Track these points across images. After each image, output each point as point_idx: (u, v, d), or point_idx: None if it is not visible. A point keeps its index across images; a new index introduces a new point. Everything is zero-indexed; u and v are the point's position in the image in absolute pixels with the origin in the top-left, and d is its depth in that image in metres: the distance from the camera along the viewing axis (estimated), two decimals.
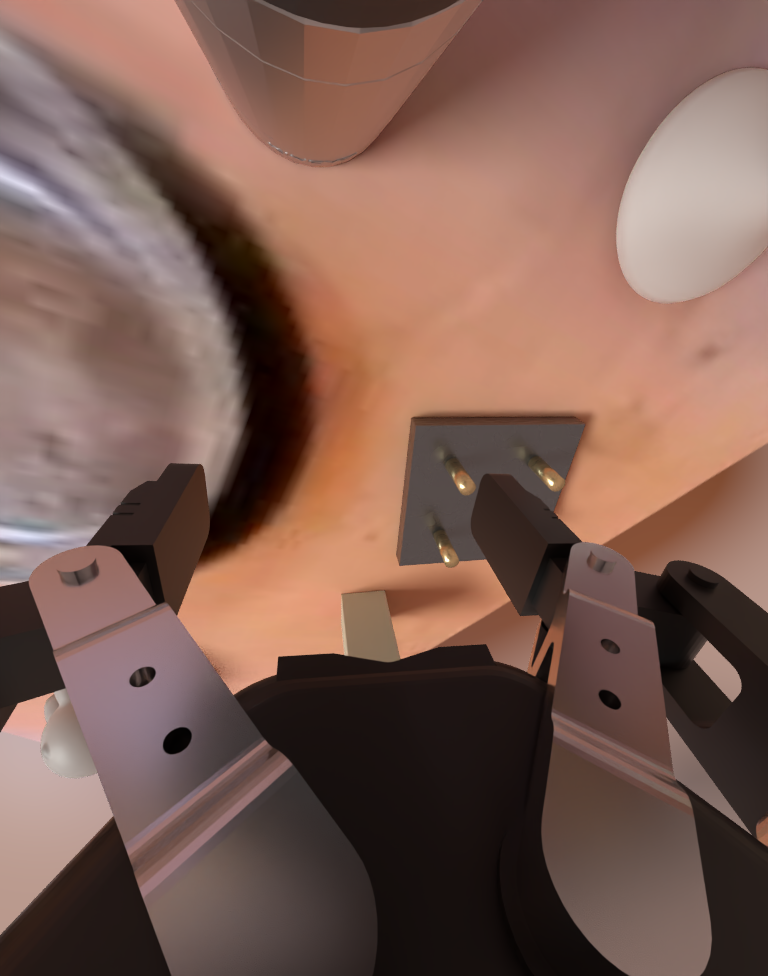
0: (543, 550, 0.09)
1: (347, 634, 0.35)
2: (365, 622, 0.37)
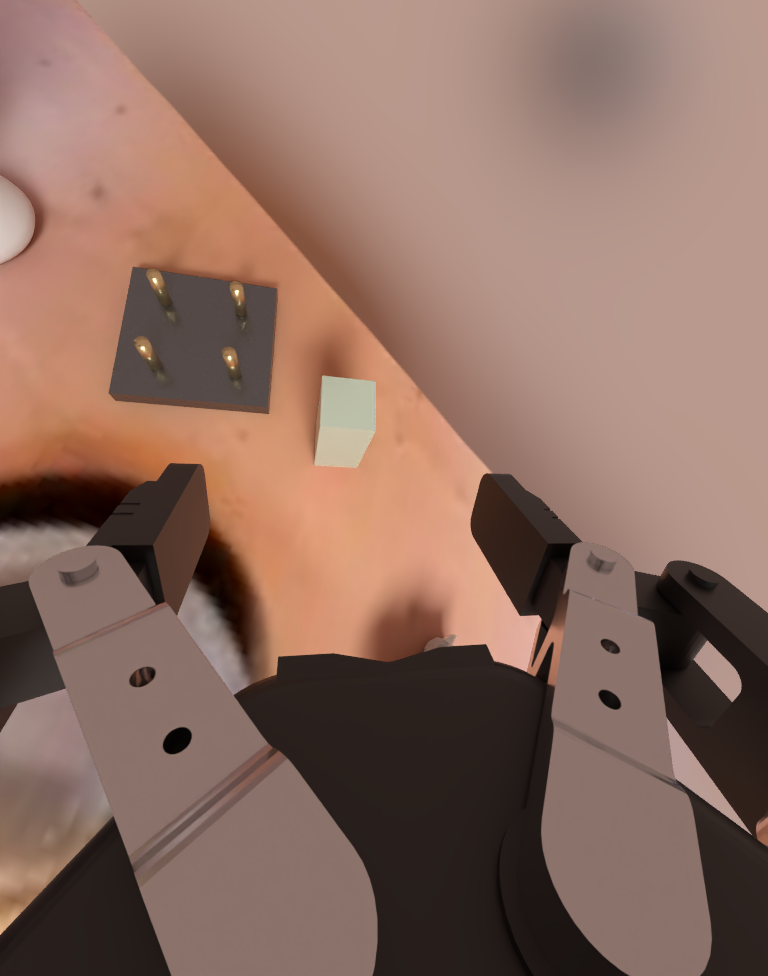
0: (543, 550, 0.09)
1: (316, 447, 0.35)
2: None
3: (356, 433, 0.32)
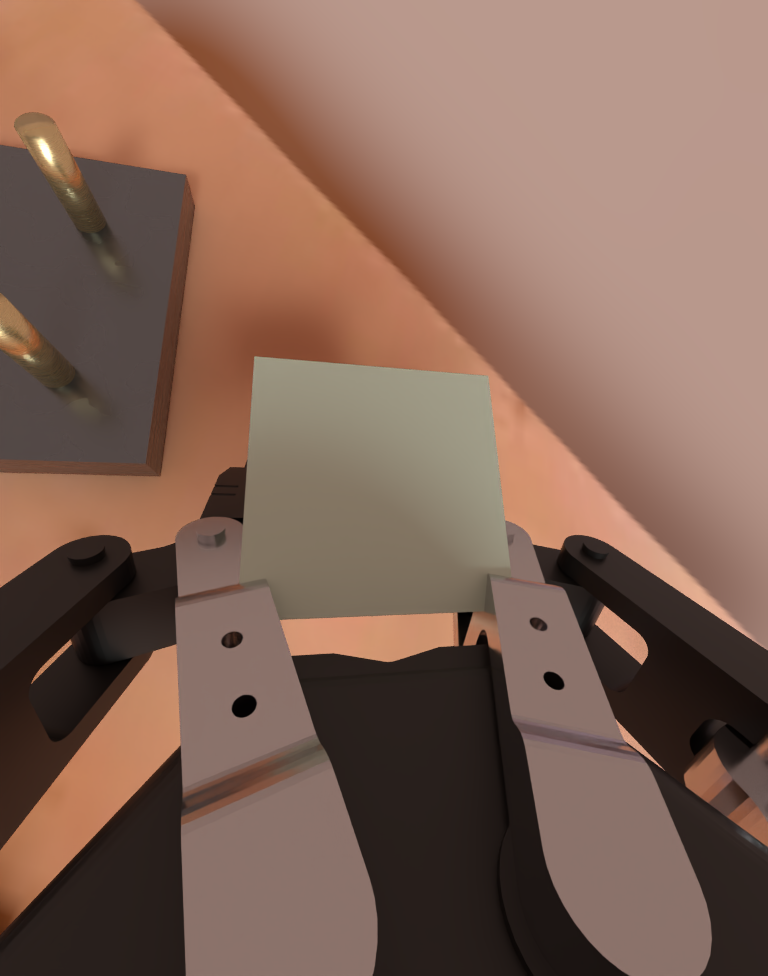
0: None
1: None
2: None
3: None
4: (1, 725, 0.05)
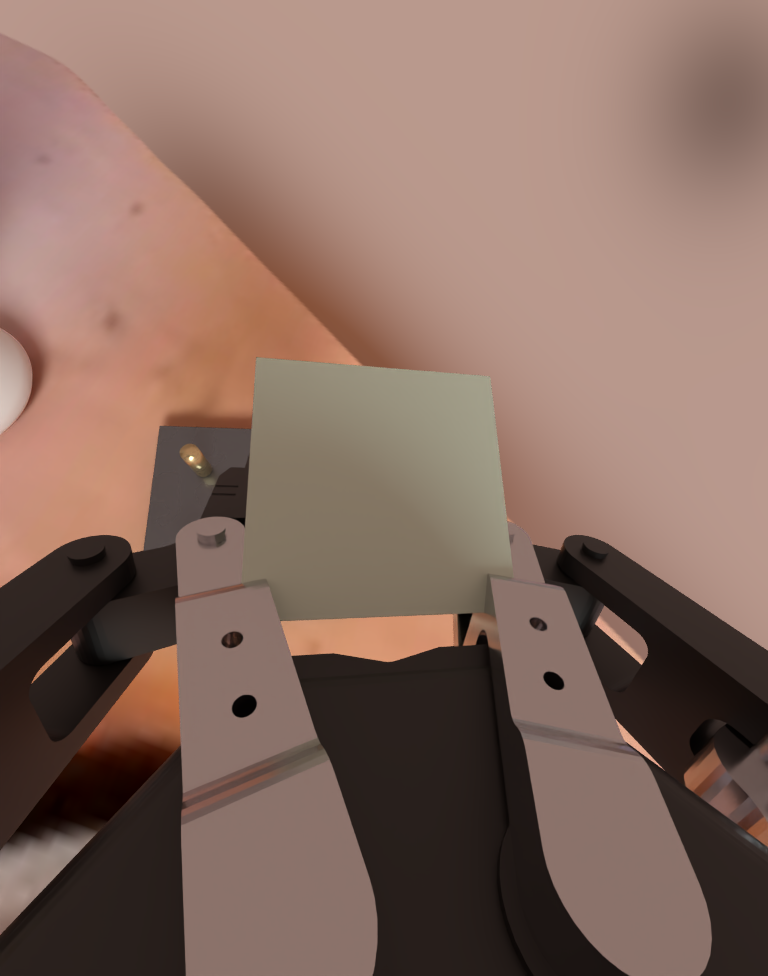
0: None
1: None
2: None
3: None
4: (1, 725, 0.05)
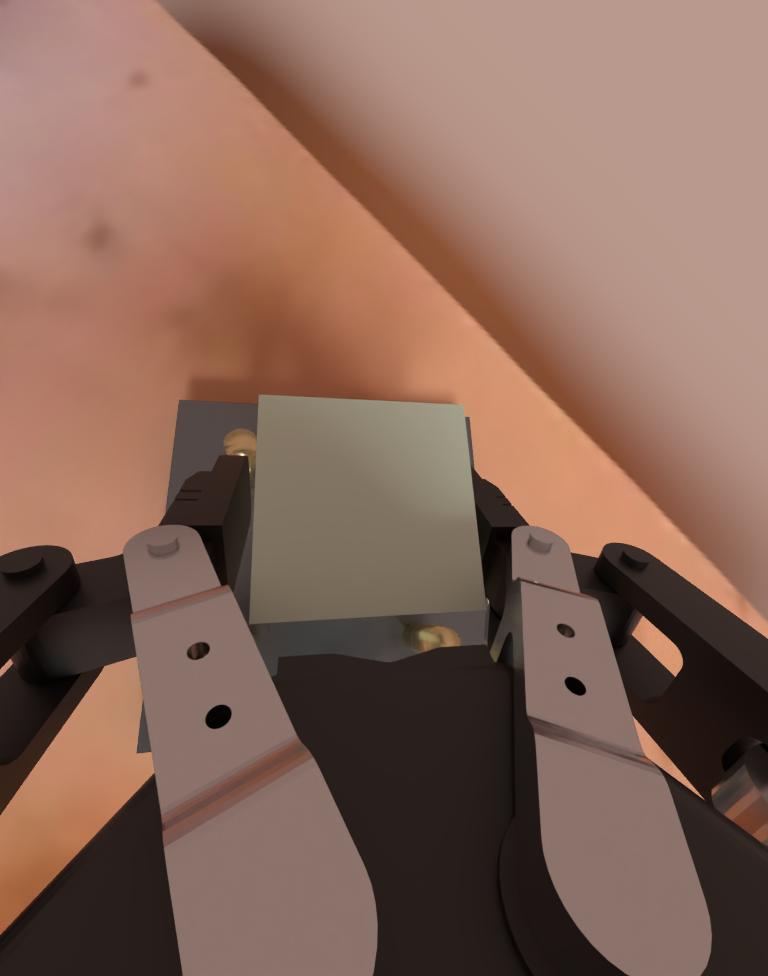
0: (489, 533, 0.09)
1: None
2: None
3: None
4: None
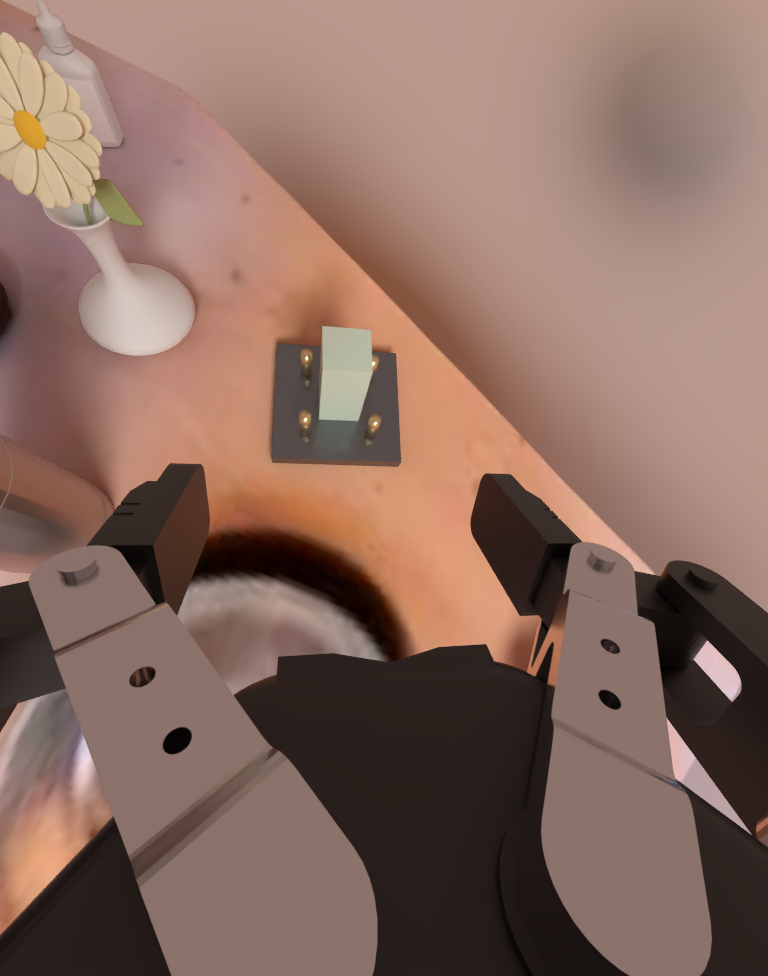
0: (543, 550, 0.09)
1: (320, 396, 0.39)
2: None
3: (355, 376, 0.35)
4: None
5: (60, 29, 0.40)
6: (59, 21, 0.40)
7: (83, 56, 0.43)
